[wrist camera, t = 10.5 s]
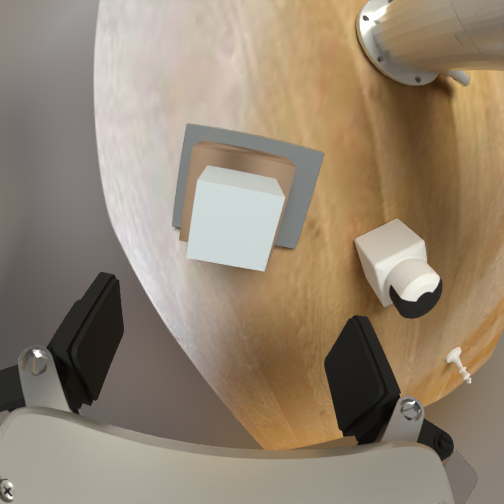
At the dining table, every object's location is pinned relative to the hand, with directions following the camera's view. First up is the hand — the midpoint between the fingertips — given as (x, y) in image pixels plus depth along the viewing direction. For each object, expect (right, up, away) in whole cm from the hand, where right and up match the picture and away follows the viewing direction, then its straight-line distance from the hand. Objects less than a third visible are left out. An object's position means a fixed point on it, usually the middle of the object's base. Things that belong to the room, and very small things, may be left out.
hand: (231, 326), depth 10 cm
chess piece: (+50, -22, +40) cm, 67 cm away
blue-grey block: (-1, +7, +14) cm, 16 cm away
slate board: (0, +10, +20) cm, 23 cm away
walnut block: (-1, +10, +19) cm, 22 cm away
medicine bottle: (+19, +3, +25) cm, 31 cm away
